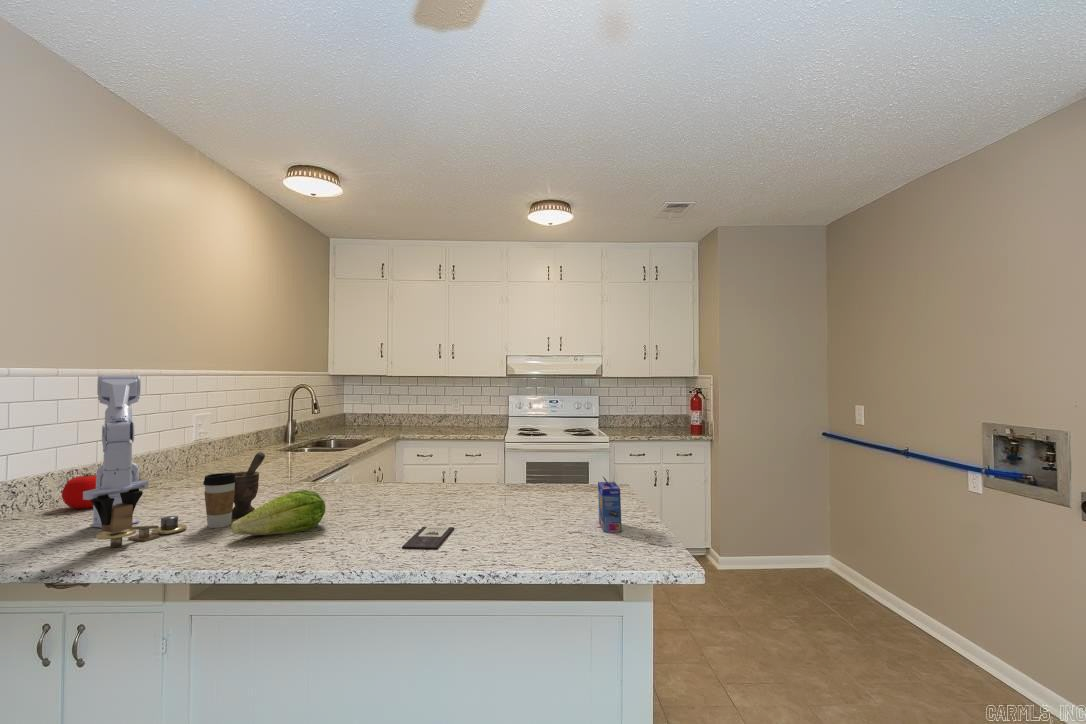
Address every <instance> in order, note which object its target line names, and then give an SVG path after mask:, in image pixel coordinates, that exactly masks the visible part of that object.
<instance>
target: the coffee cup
mask: <svg viewBox="0 0 1086 724" xmlns="http://www.w3.org/2000/svg"><path fill="white" fill-rule="evenodd" d="M235 482H236V477H235V472H221V473H210V474H207V475H205V476H204V480H203V483H202V485H203V486H204V501H205V514H206V522H207V523H206V524H207V526H206V527H208V528H210V529H218V528H224V527H228V526H231V523H232V510H233V508H234V494H235V489H234V487H235Z"/></svg>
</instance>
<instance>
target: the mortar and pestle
mask: <svg viewBox="0 0 1086 724" xmlns="http://www.w3.org/2000/svg"><path fill="white" fill-rule="evenodd" d="M265 457H266V454H265V453H264V452H261V451H259V452H257V453H256V454H255V455H254V457H253V459H252V461H251V463H250V465H249V468H248V469H247V471H245V470H243V471H242V470H241V471H236V472H234V473H235V477H236V482H235V487H234V489H235V494H234V502H233V505H234V506H233V510H232V518H233V519H240V518H242V517H244V516H245V515H247V514H249V513H250V512H252V511H253V510H255V509H256V508H255V507H253V506H252V502H253V500H254V499H256V497H257V494H258V490H259V486H260V485H259V480H260V472H258V471H257V470H258V468H259V467H260V465H262V463H263V461H264V459H265Z"/></svg>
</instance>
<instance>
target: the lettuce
mask: <svg viewBox="0 0 1086 724" xmlns="http://www.w3.org/2000/svg"><path fill="white" fill-rule="evenodd" d="M325 513H326V503H325V500H324V499H323V498H322V497H321V495H319V494H318V493H317V492H315V491H311V490H305V489H304V490H303V489H302V490H297V491H292V492H290V493H286V494H283V495H280V496H278V497H276V498H275V497H274V499H272V500H270V501H268V502H266V503H263V504H262V505H261V506H258V507H257V508H255V510H253V511H252V512H250V513H249V514H247V515H245V516H244V517H240V518H237V519H236V520H235V521H232V522H231V524H230V528H231V529H230V530H231V531H232V533H233V534H234V535H251V536H252V535H254V536H267V535H281V534H292V533H298V532H303V531H307V530H312V529H313V528H314V527H316V526H317V525H318V524H319V523H320V522H321V521H322V519H323V518H324V515H325Z"/></svg>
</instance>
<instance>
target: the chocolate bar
mask: <svg viewBox="0 0 1086 724" xmlns="http://www.w3.org/2000/svg"><path fill="white" fill-rule="evenodd" d="M454 529H455V527H454V526H452V527H451V526H448V527H447V526H422V527H421V528H420V529H419V530H417V532H415V533H414V535H412V537H410V538H409V539H408V540H407V541H406V542H405V543H404V544H402V546H401V549H402V550H403V549H404V550H433V551H436V550H437V551H438V549H439V548H440V546H441V545H442V544H443V543H444V542H445V541H446V539H447V538H448V537H449V536H450V535H451V534H452V532H453V531H454Z"/></svg>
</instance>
